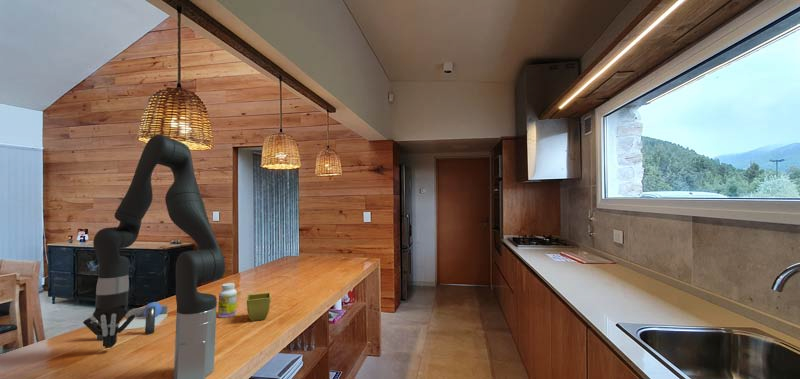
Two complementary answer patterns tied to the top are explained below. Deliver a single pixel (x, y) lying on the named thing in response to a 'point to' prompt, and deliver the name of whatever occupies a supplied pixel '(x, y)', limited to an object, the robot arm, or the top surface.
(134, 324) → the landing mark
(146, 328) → the right post
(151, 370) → the top surface
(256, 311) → the flower pot
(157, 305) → the ball
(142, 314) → the stopper wall
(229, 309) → the supplement bottle
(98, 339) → the left post
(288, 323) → the top surface
